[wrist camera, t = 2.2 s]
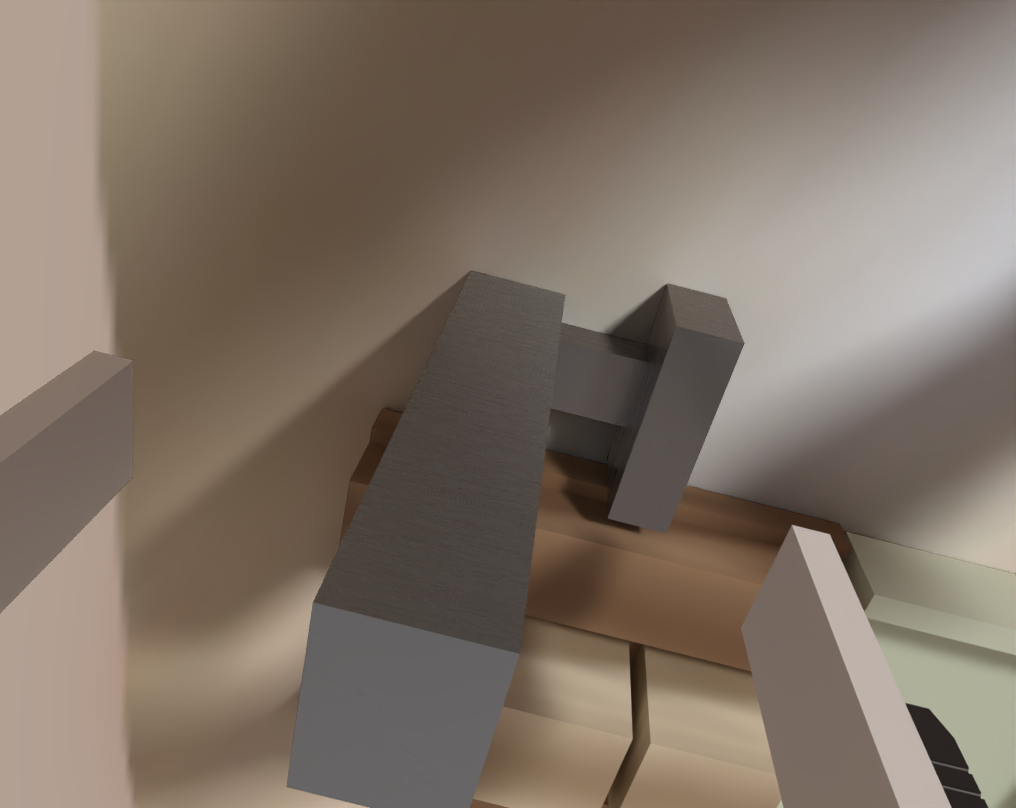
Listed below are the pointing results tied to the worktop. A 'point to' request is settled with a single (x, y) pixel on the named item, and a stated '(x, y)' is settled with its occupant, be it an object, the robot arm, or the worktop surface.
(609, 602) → the groove board
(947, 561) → the tray
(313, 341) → the worktop surface
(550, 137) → the worktop surface
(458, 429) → the t-shaped gray bracket
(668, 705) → the light wooden cube
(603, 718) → the beige cube
